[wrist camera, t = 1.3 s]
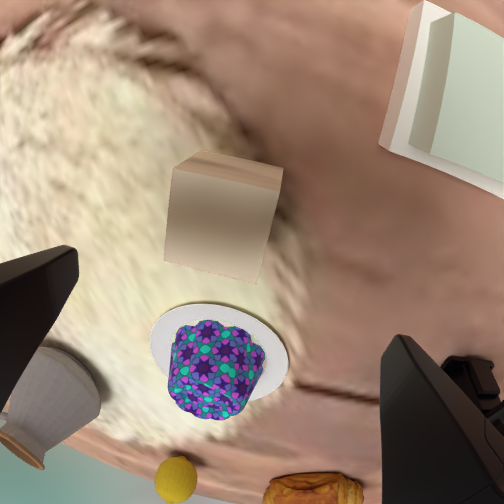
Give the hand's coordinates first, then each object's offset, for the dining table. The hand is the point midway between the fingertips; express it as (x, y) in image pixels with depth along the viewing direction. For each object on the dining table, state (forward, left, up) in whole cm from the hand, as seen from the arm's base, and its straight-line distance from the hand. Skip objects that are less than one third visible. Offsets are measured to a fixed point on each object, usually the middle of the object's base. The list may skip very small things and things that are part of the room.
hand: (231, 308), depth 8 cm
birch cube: (-2, +2, -13) cm, 13 cm away
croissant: (-42, -17, -13) cm, 47 cm away
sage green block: (+8, -10, -10) cm, 16 cm away
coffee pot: (-26, +23, -13) cm, 37 cm away
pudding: (-16, +1, -13) cm, 20 cm away
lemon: (-39, +3, -13) cm, 41 cm away
